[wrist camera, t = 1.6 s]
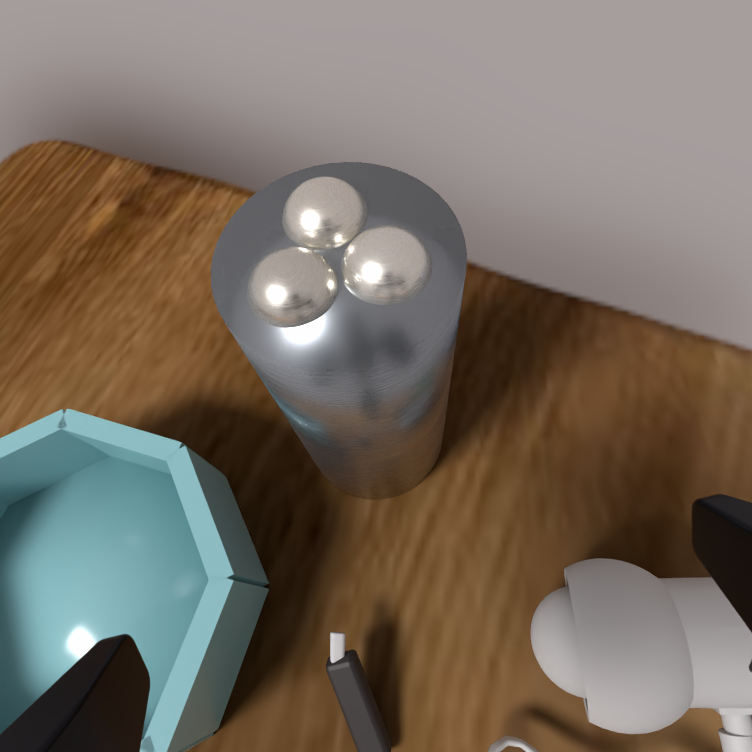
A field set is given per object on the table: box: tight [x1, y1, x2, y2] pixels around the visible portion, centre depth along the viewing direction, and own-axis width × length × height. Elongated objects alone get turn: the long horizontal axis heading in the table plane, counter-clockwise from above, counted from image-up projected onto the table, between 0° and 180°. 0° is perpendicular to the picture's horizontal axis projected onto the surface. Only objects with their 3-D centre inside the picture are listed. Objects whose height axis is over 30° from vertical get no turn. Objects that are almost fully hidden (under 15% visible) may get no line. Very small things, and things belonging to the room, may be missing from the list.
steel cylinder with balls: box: [211, 162, 467, 500], centre depth 18 cm, size 6×6×13 cm
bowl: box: [0, 409, 269, 752], centre depth 19 cm, size 13×13×4 cm
